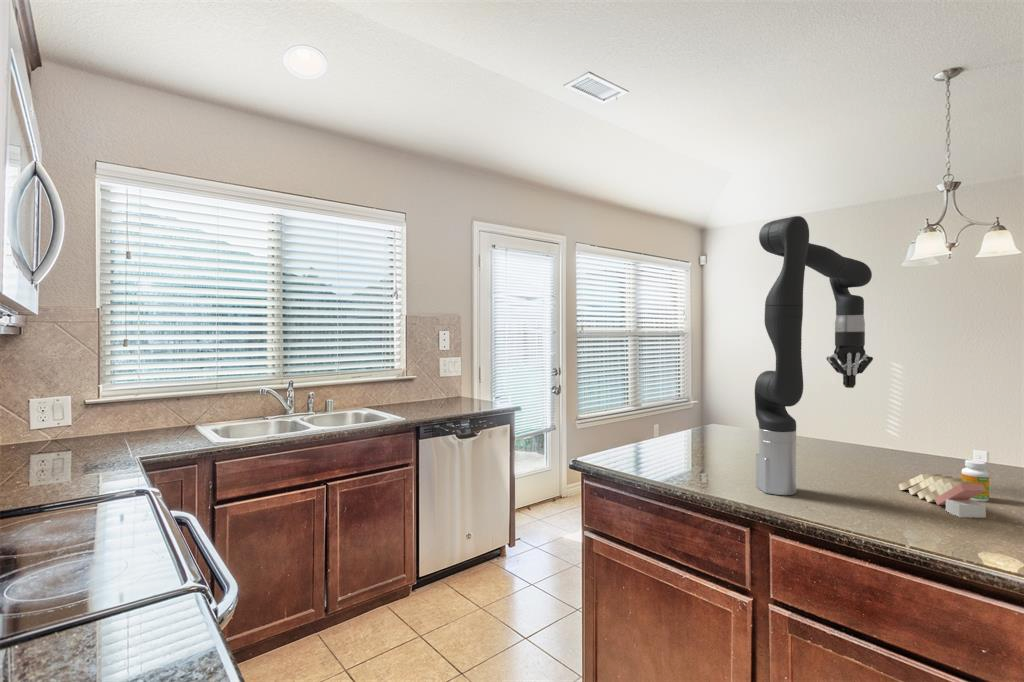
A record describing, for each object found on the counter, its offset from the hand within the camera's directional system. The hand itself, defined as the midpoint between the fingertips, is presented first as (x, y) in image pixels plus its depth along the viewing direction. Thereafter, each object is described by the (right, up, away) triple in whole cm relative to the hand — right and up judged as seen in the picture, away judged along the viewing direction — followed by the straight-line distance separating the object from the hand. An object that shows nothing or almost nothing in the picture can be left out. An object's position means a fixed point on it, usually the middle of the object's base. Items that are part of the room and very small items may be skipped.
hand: (849, 387), depth 152 cm
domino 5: (+7, -27, -26) cm, 37 cm away
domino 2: (+8, -27, -17) cm, 32 cm away
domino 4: (+7, -27, -22) cm, 36 cm away
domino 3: (+7, -27, -20) cm, 34 cm away
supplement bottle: (+19, -28, -20) cm, 39 cm away
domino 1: (+8, -27, -13) cm, 31 cm away
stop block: (+7, -28, -31) cm, 42 cm away
